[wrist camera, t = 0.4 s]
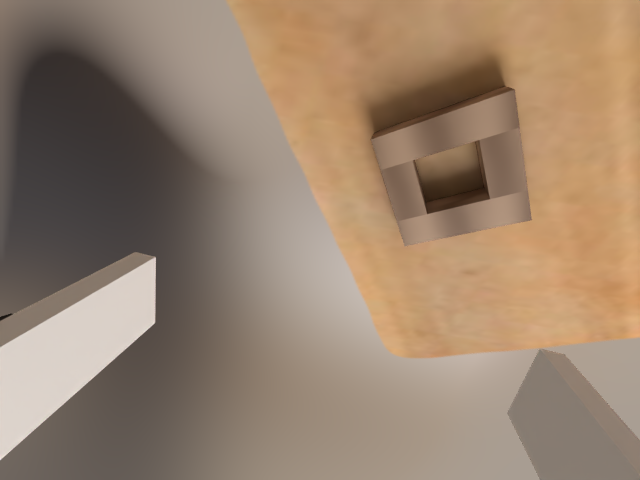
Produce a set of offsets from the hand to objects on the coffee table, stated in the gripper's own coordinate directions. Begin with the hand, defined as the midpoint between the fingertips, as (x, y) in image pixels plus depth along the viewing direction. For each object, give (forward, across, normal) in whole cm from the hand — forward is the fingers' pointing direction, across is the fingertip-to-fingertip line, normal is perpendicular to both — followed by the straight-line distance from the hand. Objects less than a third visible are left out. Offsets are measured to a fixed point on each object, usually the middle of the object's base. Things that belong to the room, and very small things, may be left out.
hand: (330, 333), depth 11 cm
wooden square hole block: (+25, +8, +5) cm, 26 cm away
